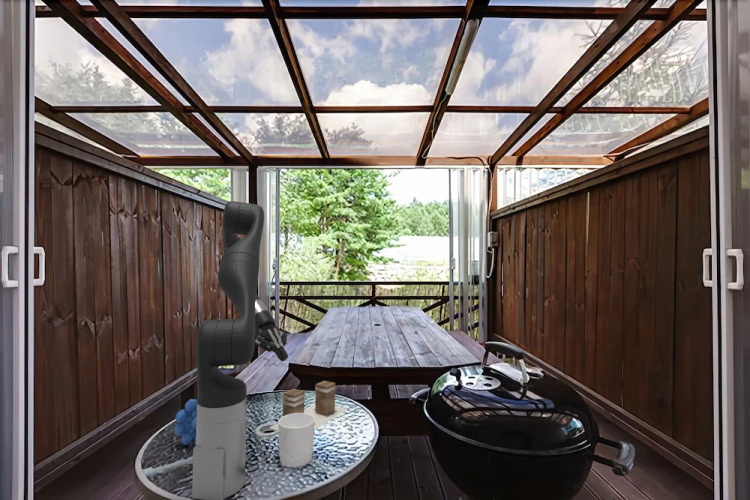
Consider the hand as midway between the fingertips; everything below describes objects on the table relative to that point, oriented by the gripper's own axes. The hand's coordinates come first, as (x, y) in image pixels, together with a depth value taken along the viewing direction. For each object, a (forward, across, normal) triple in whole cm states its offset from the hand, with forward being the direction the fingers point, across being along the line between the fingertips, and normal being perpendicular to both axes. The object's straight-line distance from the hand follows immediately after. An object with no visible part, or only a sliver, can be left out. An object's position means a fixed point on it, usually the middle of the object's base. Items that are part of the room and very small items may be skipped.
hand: (285, 359), depth 116 cm
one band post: (+20, 0, -2) cm, 21 cm away
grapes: (+10, -28, +11) cm, 32 cm away
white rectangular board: (+21, -5, 0) cm, 21 cm away
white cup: (+29, -24, -8) cm, 38 cm away
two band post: (+18, -10, 0) cm, 21 cm away
